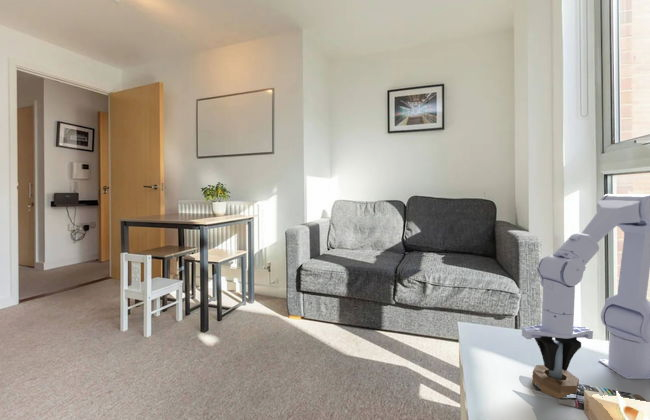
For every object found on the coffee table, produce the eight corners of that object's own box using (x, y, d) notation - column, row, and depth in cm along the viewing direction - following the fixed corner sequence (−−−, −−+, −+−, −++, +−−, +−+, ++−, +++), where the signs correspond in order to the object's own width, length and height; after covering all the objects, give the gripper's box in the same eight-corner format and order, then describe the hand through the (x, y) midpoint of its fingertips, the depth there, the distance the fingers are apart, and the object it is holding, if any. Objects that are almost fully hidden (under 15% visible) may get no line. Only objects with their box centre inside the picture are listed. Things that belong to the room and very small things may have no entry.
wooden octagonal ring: (559, 376, 76) (560, 364, 75) (586, 399, 68) (587, 385, 67) (526, 377, 76) (526, 365, 76) (549, 399, 68) (549, 385, 68)
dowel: (556, 373, 73) (558, 340, 72) (564, 379, 70) (565, 345, 70) (546, 373, 73) (547, 340, 72) (553, 379, 70) (555, 345, 70)
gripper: (576, 303, 74) (573, 358, 75) (514, 303, 75) (513, 358, 75) (602, 315, 67) (599, 375, 68) (534, 315, 67) (532, 376, 68)
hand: (555, 368), depth 71 cm, fingers closed on dowel, 2 cm apart
